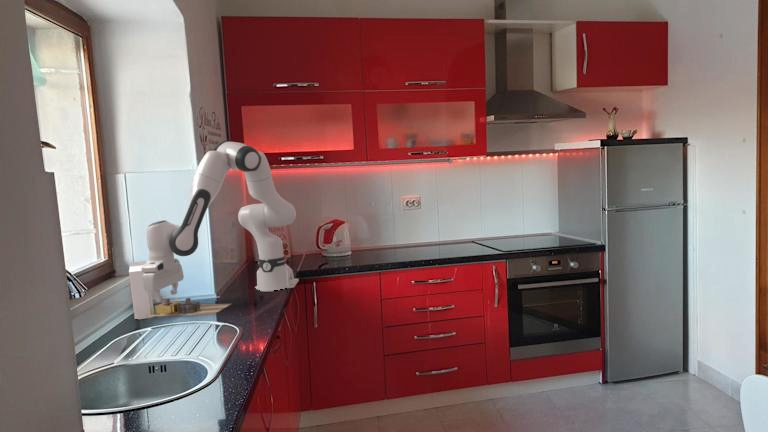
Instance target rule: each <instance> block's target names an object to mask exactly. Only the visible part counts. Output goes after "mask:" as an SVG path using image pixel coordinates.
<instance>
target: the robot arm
mask: <svg viewBox="0 0 768 432" xmlns="http://www.w3.org/2000/svg"><path fill="white" fill-rule="evenodd" d="M231 169H232V170H236V171H241V172H244V177H245V182H246V185H247V189H248V194H249V195H250V197H252V198H253V199H255V200H258V201H260V202H261V203H252V204H248V205H245V206H242V207H241V208H240V209H239V211H238V213H237V219H238V222H239V224H240V225H241V226H242V227H243V228H245V230H247V231H248V232H250V234H251V235H252V236H253V238H254V240H255V243H256V248H257V252H258V260H257V263H258V264H257V265H258V267H259V268H258V269H257V271H256V284H257V285H256V286H254V289H255V288H256V289H255V290H257V291H259V290H260V291H259V292H275V291H274V290H278V291H281V290H280V289H283V290H286V289H285V288H287V289H293V288H295V287H296V285H297V284H298V283H299V281H300V280H299V279H300V278H295V277H294V272H293V271H294V270H293V269H292V268H291V267H290V266H289V265H288V264H287V260H288V256H287V255H284V246H283V240H282V239H281V237H280V236H278V235H277V234H273V233H271V232H270V230H269V228H275V227H276V228H277V227H278V228H279V227H285V226H288V225H292V224H293V223H294V222H295V220H296V216H297V212H296V208H295V207H294V205H293V204H292V203H291V202H289V201H287V200H286V199H284V198H283V197H281V195H280V194H279V193H278V192H277V189H276V187H275V183H274V180H273V175H272V170H271V168H270V164H269V161H268V158H267V157H266V155H265V153H263V151H260V150H259V151H258V150H257V148H254V147H253V146H251V145H247V144H245V143H242V142H235V141H232V140H222V141H220V142H218V143H217V144H216V145H215V147H213V149H212V150H209V151H207V152H206V153H205V154H204V156H203V157H202V158H201V160H200V162H199V164H198V166H197V168H196V170H195V172H194V175H193V176H192V177H193V178H192V181H191V186H190V200H189V205H188V207H187V210H186V213H185V216H184V218H183V221H182V223H181V225H179V224H174V223H171V222H170V221H168V220H159V221H156V222H155V221H154V222H152V223H151V224H149V225H148V226H147V228H146V245H147V248H148V251H149V253H148V260H147V261H146V264H145V265H143V266H142V268H141V269H142V272H145V273H144V274H143V285H144V290H145V291H146V292H152V295H153V296H154V297H155V302H157V303H158V302H162V301H163V296H162V295H161V294H160V293H161V290H162V289H165V288H167V287H169V286H172V287H171V290H170V294H171V295H172V296H176V295H177V294H178V287H179V282H181V281H183V280H184V279H185V278H184V277H185V276H184V270H183V266H182V265H181V263H180V260H179V259H178V258H175V255H176V256H179V257H188V256H191V255H192V254H194V253H195V252H196V251H197V249H198V247H199V229H200V227H201V225H202V222H203V219H204V217H205V214H206V212H207V210H208V208H209V207H210V205H211V204H212V202H213V201H214V200H215V198H216V197H217V196H218V193H219V192H220V190H221V188H222V185H223V183H224V181H225V178H226V175H227V173H228V171H230V170H231Z"/></svg>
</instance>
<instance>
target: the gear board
mask: <svg viewBox="0 0 768 432" xmlns="http://www.w3.org/2000/svg"><path fill="white" fill-rule="evenodd" d="M191 300H192V299H191V298H190V297H187V298H185V302H184V303H181V304H179V306H178V311H176V312H175V313H172V314H157V313H156V312H154V314H152V315H150V316H148V318H147V319H151V318H154V317H172V316H173V317H176V316H177V317H178V316H181V317H182V316H213V315H215V314H217V313H218V312H221V311H222V310H224V309H225V308H227V307H229V306H231V305H232V303H208V304H207V303H206V304H205V303H204V304H201V303H200V301H197V302H196V301H195V300H194V301H191ZM170 302H171V301H170V298H165V299H164V303H165V305H170Z"/></svg>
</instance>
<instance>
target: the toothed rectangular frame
mask: <svg viewBox="0 0 768 432" xmlns="http://www.w3.org/2000/svg"><path fill="white" fill-rule="evenodd" d="M179 304H182V302H181V301H170V305H165V302H162V303H160V304H159V303H158V304H157V305H155V306H154V309H155V310H154V312H155V313H157V314H172V313H175V312H176V311H178V306H179Z"/></svg>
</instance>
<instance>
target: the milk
mask: <svg viewBox="0 0 768 432" xmlns="http://www.w3.org/2000/svg"><path fill="white" fill-rule="evenodd" d="M146 263H147V261H146V260H140V261H131V262H129V269H128V277H129V284H130V291H131V302H132V306H133V307H132V308H133V315H134V320H135V319H138V320H143V319H149V318H148V316H150V315H152V314H154V313H155V310H154V309H155V307H154V302H153V292H146V291H145V290H144V285H143V274H144V273H145V272H142V269H141V268H142V266H143V265H145V264H146Z"/></svg>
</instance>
